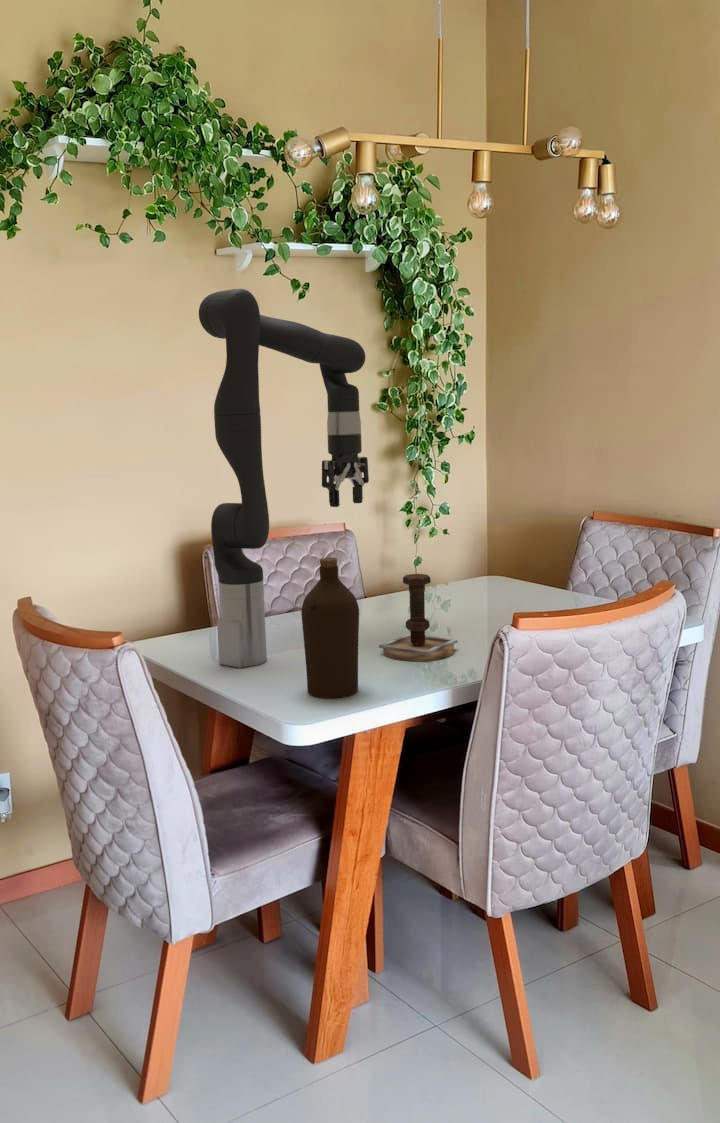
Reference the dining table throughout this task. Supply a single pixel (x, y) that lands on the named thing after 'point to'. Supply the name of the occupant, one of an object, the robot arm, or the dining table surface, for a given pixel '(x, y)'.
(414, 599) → the bolt
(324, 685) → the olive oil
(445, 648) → the tray
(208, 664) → the dining table surface
